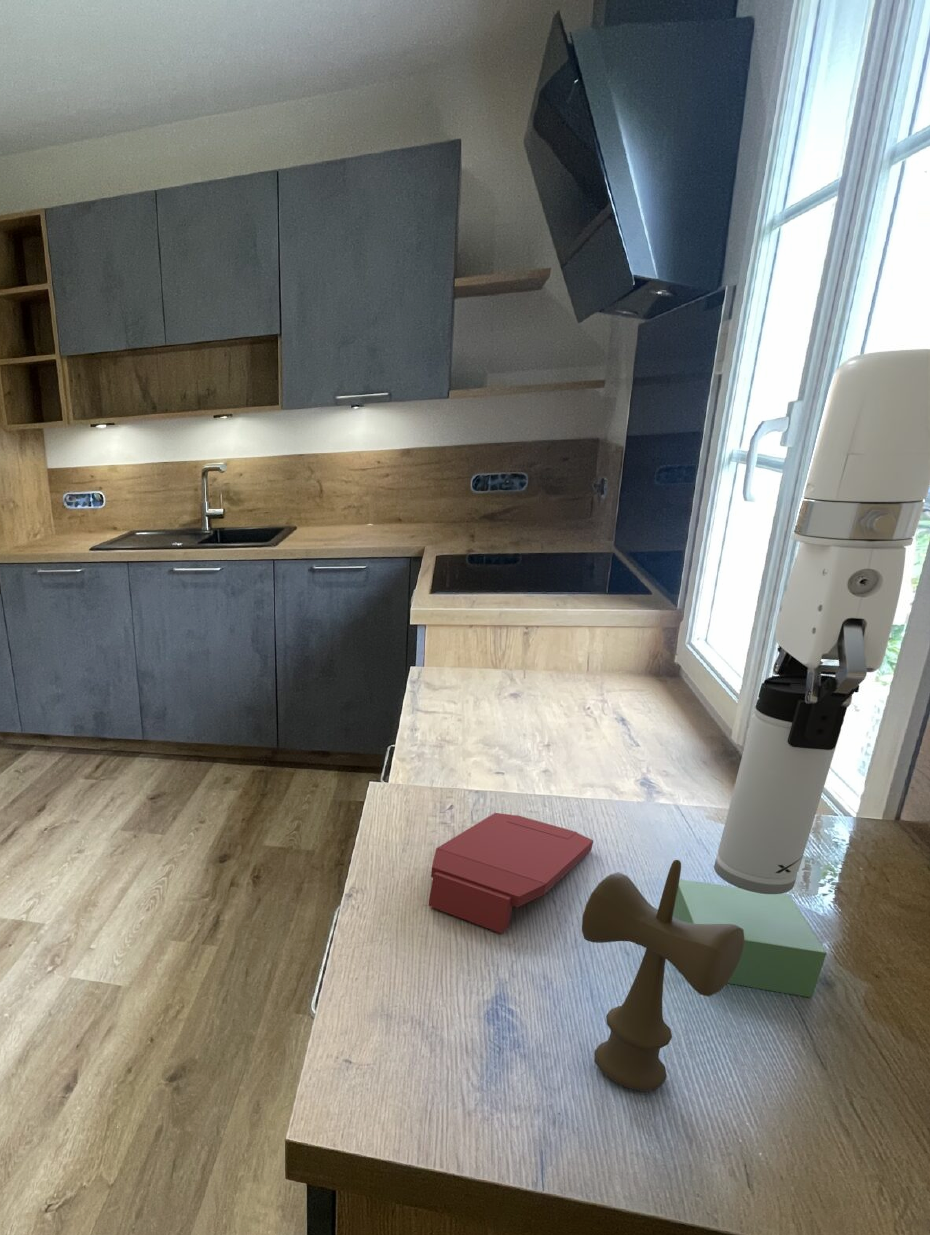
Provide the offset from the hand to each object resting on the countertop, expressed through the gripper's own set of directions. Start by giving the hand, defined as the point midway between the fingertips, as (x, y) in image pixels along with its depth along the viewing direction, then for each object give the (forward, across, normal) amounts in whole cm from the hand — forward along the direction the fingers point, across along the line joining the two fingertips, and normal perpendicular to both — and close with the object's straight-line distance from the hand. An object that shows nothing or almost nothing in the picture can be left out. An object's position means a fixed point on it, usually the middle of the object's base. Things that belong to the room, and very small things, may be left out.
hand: (796, 730), depth 69 cm
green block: (+24, 0, 0) cm, 24 cm away
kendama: (+24, -20, +12) cm, 34 cm away
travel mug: (+15, 0, 0) cm, 15 cm away
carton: (+24, +10, +21) cm, 33 cm away
